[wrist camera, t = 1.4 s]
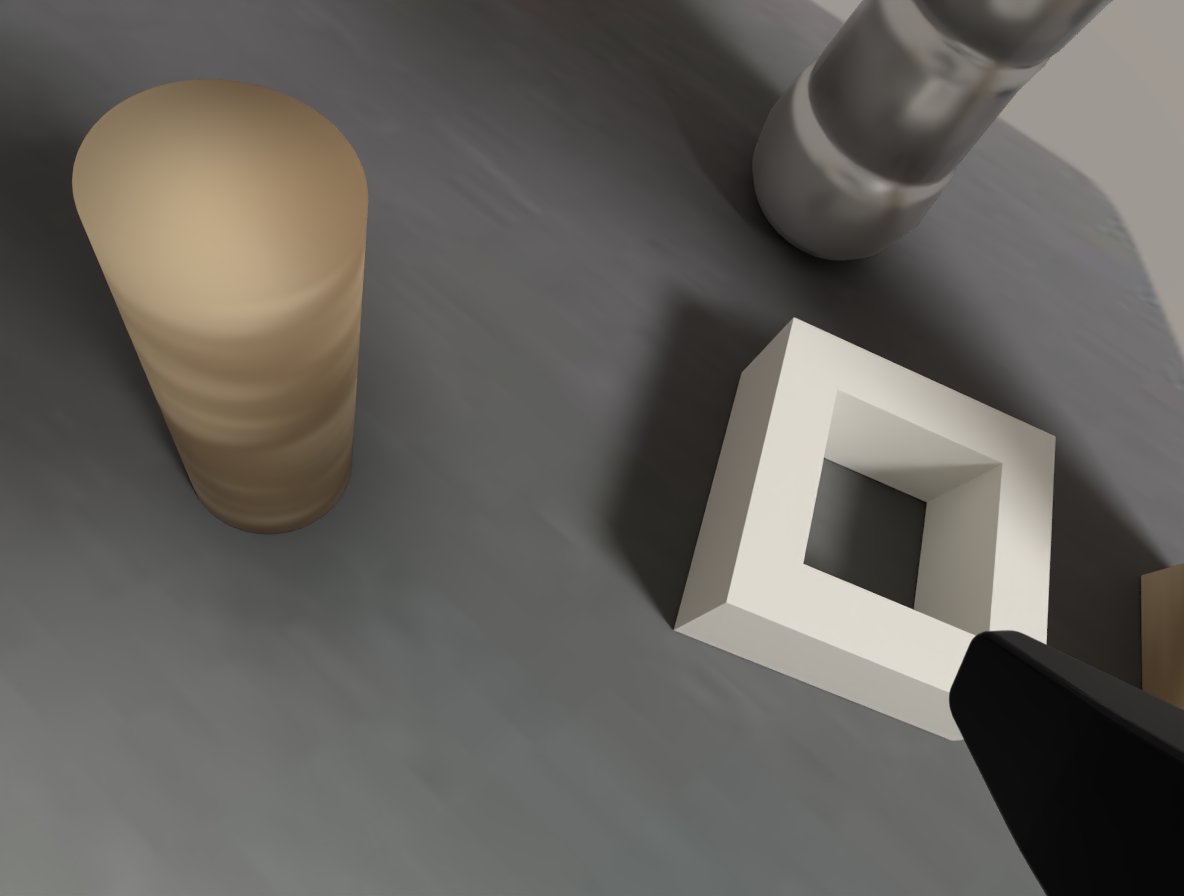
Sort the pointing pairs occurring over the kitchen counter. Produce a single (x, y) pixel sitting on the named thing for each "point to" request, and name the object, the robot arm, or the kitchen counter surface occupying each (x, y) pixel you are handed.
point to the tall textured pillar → (1163, 634)
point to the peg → (236, 285)
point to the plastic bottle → (897, 114)
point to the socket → (900, 460)
